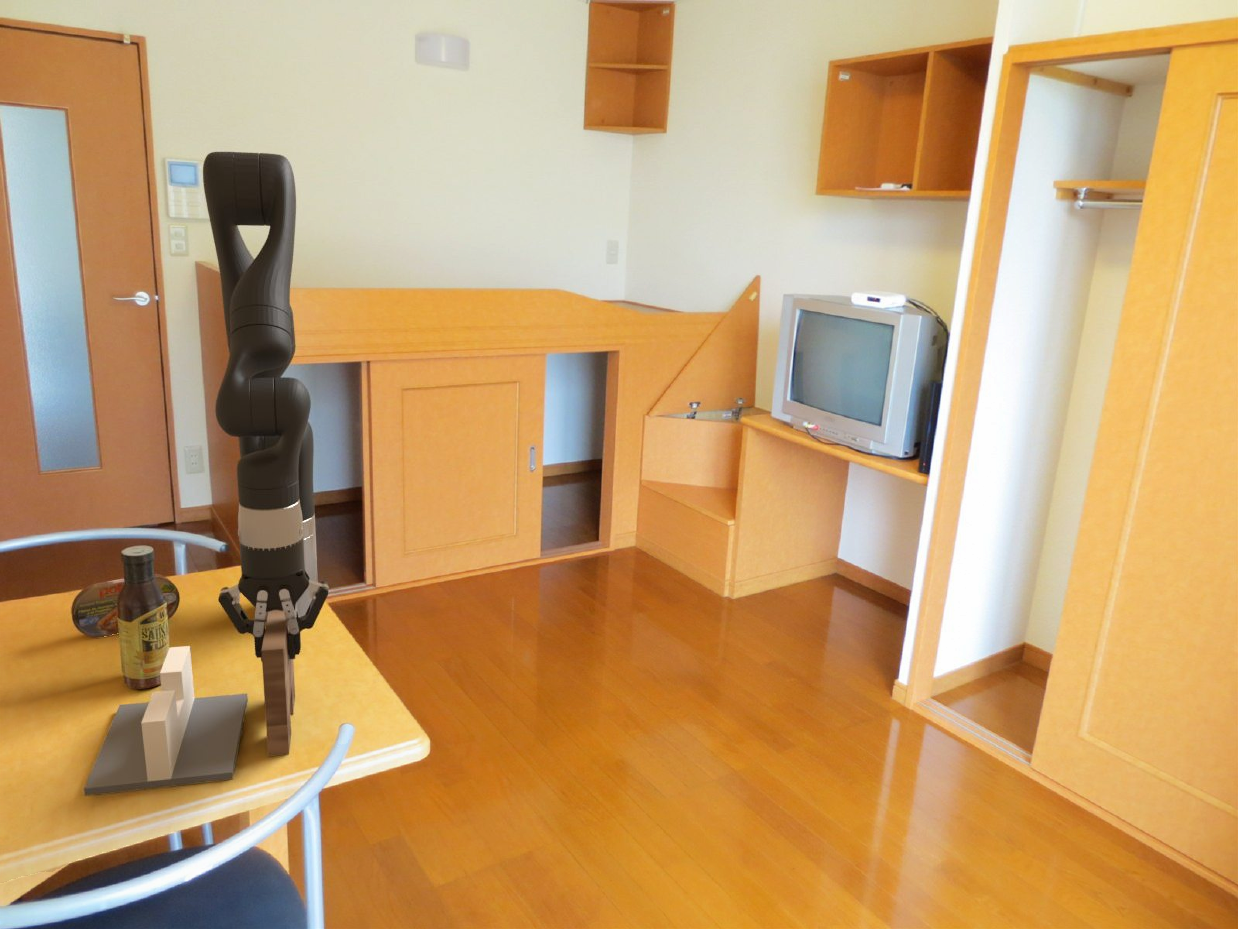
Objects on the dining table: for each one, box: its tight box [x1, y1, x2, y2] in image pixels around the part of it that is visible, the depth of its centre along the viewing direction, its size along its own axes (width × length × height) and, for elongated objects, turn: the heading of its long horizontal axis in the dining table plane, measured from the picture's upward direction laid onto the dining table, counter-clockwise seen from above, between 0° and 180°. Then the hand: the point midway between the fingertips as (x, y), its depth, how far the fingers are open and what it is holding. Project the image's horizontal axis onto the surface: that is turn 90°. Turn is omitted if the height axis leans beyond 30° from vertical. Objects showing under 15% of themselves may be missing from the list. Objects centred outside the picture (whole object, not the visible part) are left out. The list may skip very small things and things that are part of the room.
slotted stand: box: [83, 645, 249, 796], centre depth 115 cm, size 18×16×9 cm
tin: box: [70, 573, 181, 639], centre depth 143 cm, size 15×3×8 cm, turn 126°
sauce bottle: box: [117, 545, 171, 690], centre depth 128 cm, size 7×6×20 cm
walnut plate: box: [261, 610, 296, 757], centre depth 120 cm, size 14×2×15 cm, turn 16°
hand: (278, 657), depth 119 cm, fingers open, 3 cm apart
